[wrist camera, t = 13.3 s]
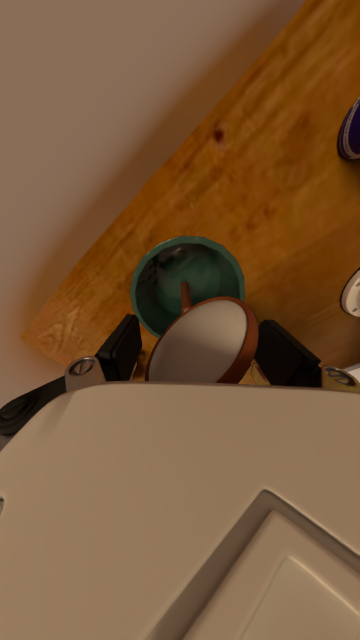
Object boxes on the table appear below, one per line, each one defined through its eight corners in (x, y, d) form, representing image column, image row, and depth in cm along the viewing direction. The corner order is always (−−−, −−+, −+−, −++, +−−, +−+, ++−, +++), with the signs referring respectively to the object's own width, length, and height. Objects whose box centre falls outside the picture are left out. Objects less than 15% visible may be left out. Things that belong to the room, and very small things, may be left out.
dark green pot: (230, 240, 20) (262, 239, 12) (215, 316, 27) (230, 346, 19) (143, 236, 20) (120, 233, 12) (150, 314, 27) (138, 344, 19)
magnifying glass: (168, 301, 25) (144, 441, 7) (162, 294, 24) (119, 430, 7) (207, 270, 22) (315, 376, 5) (201, 261, 21) (301, 347, 4)
